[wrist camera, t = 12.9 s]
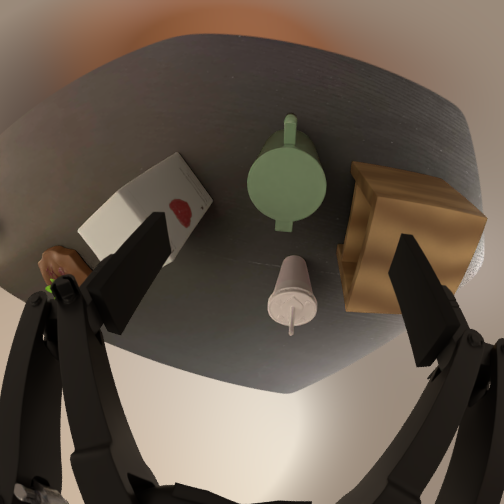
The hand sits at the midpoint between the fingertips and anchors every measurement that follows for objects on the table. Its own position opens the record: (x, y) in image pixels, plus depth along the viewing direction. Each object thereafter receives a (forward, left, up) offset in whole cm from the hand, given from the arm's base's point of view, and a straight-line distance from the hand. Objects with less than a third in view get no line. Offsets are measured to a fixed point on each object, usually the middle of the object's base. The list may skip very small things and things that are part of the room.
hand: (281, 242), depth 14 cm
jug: (0, 0, -22) cm, 22 cm away
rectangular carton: (+6, -16, -22) cm, 28 cm away
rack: (+7, +15, -22) cm, 27 cm away
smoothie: (+17, +2, -22) cm, 28 cm away
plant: (+28, -47, -22) cm, 59 cm away
